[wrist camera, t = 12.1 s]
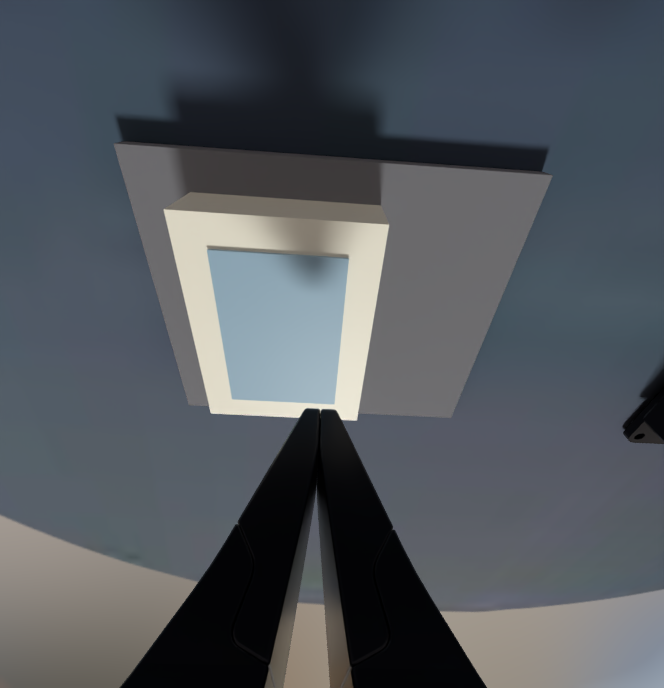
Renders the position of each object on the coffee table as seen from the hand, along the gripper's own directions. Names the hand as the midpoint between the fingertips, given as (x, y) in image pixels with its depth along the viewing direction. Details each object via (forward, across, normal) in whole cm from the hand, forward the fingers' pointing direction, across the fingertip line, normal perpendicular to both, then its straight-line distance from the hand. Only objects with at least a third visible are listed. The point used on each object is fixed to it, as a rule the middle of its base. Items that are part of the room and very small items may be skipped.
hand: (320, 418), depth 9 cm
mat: (+6, 0, 0) cm, 6 cm away
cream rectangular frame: (+4, -2, 0) cm, 5 cm away
